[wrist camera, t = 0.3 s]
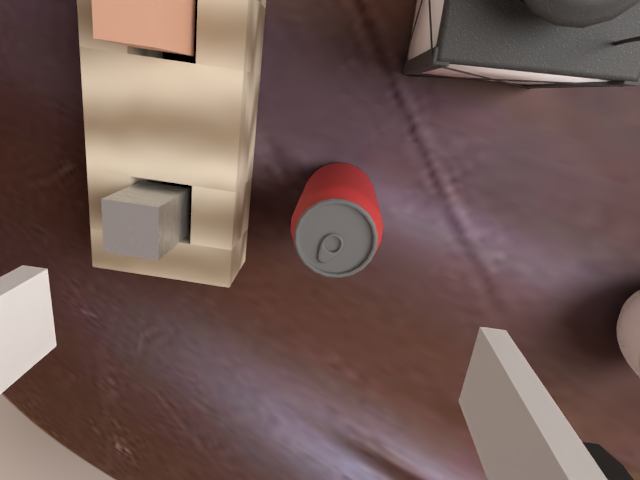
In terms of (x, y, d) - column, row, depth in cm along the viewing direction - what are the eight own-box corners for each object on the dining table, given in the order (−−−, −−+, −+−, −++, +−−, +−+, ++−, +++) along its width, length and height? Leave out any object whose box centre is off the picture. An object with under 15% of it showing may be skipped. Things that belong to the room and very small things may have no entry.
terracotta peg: (139, -14, 29) (89, -39, 23) (195, -6, 29) (158, -29, 23) (140, 48, 30) (93, 38, 25) (193, 56, 30) (158, 47, 25)
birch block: (119, -64, 32) (70, -97, 27) (269, -42, 32) (253, -71, 26) (127, 242, 41) (92, 266, 36) (245, 260, 41) (229, 287, 35)
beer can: (291, 207, 39) (268, 254, 28) (327, 147, 37) (318, 171, 26) (350, 242, 40) (351, 301, 28) (388, 185, 38) (406, 225, 26)
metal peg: (142, 180, 34) (101, 198, 28) (190, 188, 34) (158, 207, 28) (142, 226, 35) (103, 252, 29) (188, 233, 35) (158, 260, 29)
